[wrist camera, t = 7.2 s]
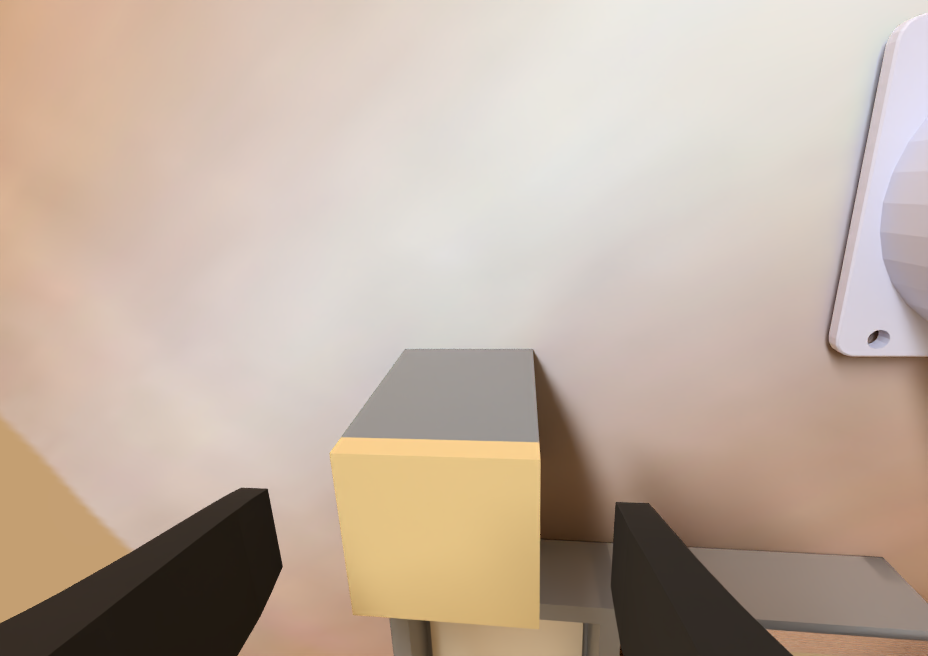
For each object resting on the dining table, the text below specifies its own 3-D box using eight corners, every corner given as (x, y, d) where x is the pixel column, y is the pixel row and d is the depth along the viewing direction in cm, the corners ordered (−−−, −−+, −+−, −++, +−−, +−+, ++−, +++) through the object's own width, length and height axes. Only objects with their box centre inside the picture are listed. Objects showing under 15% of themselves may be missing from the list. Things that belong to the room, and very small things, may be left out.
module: (532, 348, 14) (540, 459, 8) (532, 463, 15) (539, 628, 9) (405, 348, 14) (329, 453, 9) (414, 459, 16) (352, 614, 10)
